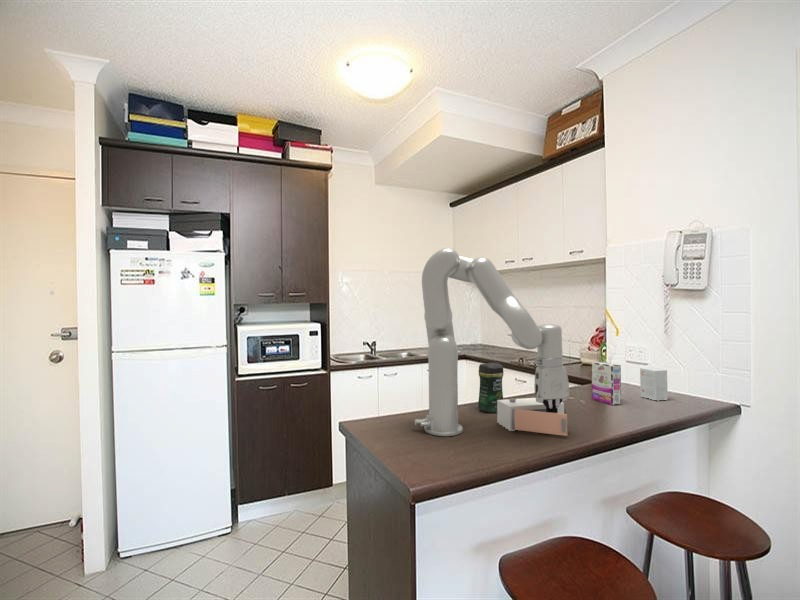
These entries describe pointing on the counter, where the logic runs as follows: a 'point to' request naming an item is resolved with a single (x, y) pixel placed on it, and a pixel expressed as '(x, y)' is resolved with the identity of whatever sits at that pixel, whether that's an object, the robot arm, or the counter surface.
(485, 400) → the coffee jar
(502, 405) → the white box
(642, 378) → the small box
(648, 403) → the counter surface
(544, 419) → the side door
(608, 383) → the candy bar box
